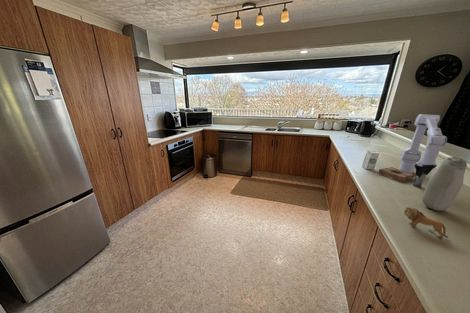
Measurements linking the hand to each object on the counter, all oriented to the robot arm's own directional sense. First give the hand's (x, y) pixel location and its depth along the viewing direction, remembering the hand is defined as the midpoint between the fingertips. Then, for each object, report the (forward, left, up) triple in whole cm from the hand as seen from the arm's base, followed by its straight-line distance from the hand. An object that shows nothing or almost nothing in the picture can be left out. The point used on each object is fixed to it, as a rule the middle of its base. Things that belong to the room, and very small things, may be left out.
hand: (421, 175), depth 109 cm
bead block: (-3, -14, -8) cm, 16 cm away
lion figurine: (+49, +25, -8) cm, 55 cm away
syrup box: (+2, -30, -8) cm, 31 cm away
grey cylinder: (0, 0, -8) cm, 8 cm away
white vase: (+22, +17, -8) cm, 29 cm away
